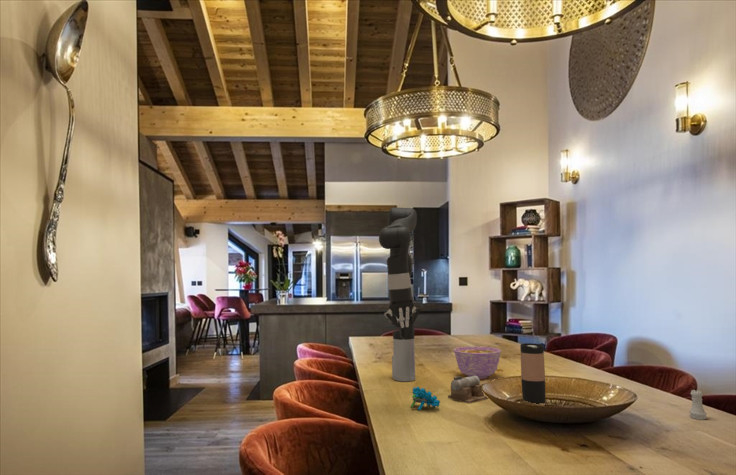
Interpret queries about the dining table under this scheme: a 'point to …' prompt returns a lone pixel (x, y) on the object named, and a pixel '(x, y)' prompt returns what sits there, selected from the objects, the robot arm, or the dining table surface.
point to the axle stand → (466, 389)
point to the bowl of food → (477, 360)
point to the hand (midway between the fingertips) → (404, 338)
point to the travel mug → (533, 372)
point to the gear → (424, 398)
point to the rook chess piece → (697, 406)
